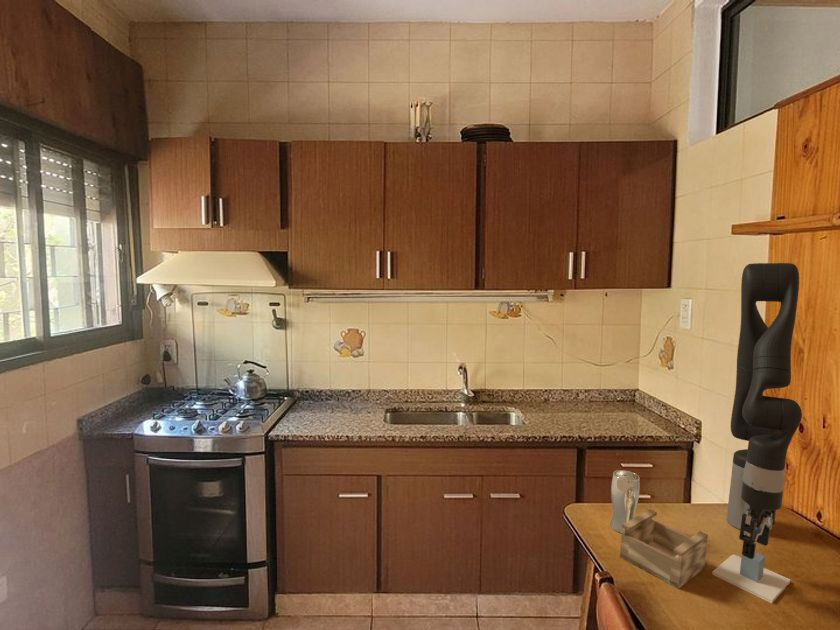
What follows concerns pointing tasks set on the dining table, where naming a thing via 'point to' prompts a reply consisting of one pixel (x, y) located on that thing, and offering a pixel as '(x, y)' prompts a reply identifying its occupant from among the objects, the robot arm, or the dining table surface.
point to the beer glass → (624, 497)
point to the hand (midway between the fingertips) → (755, 550)
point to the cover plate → (748, 585)
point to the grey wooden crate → (662, 549)
